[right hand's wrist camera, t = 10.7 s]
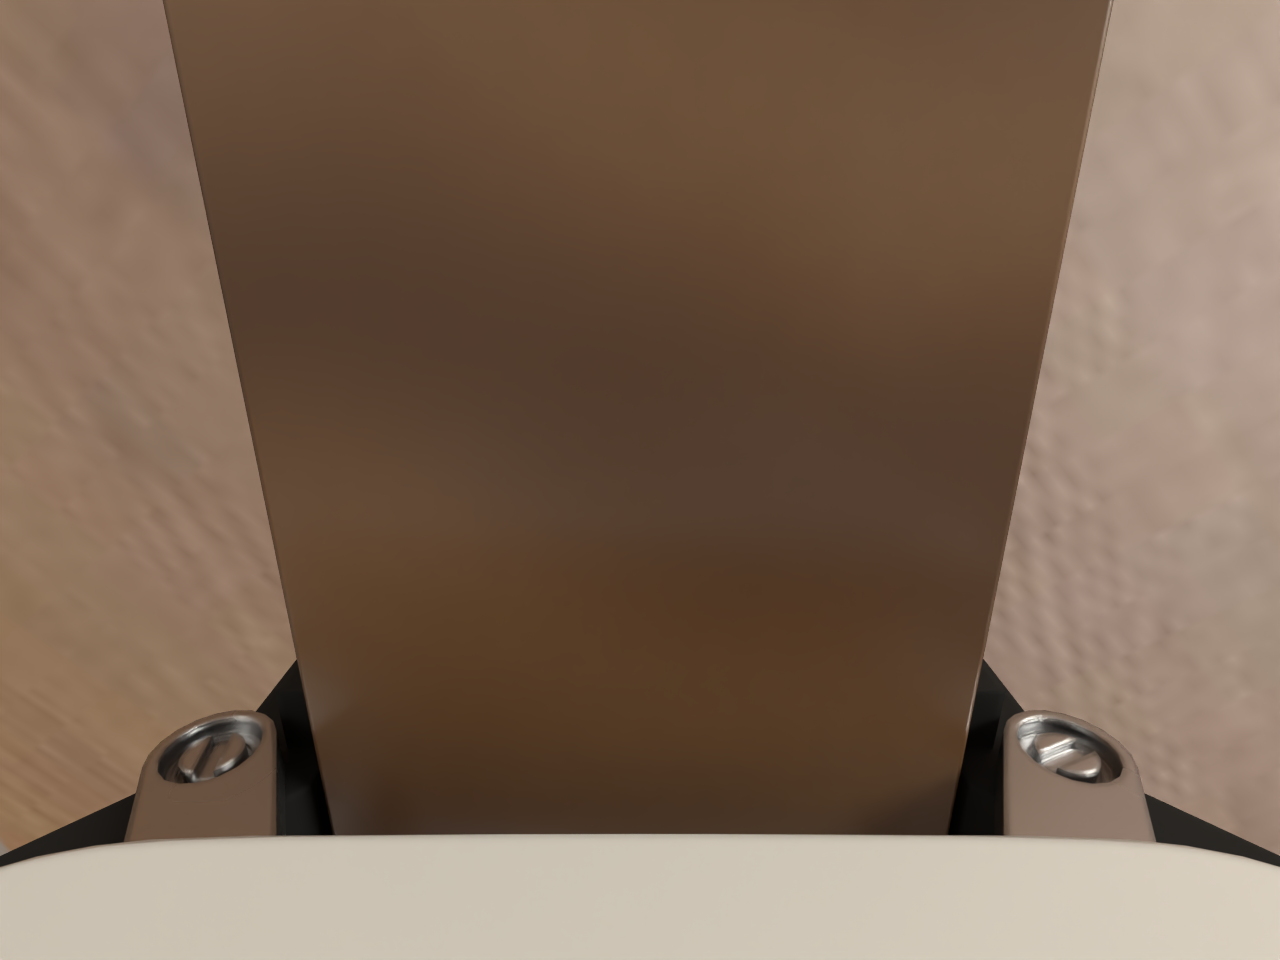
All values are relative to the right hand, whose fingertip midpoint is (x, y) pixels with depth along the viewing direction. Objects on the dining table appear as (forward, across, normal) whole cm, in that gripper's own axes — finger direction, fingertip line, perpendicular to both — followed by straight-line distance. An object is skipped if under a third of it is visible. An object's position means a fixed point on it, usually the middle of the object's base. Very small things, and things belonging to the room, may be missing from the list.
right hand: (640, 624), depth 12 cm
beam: (+2, 0, -28) cm, 28 cm away
